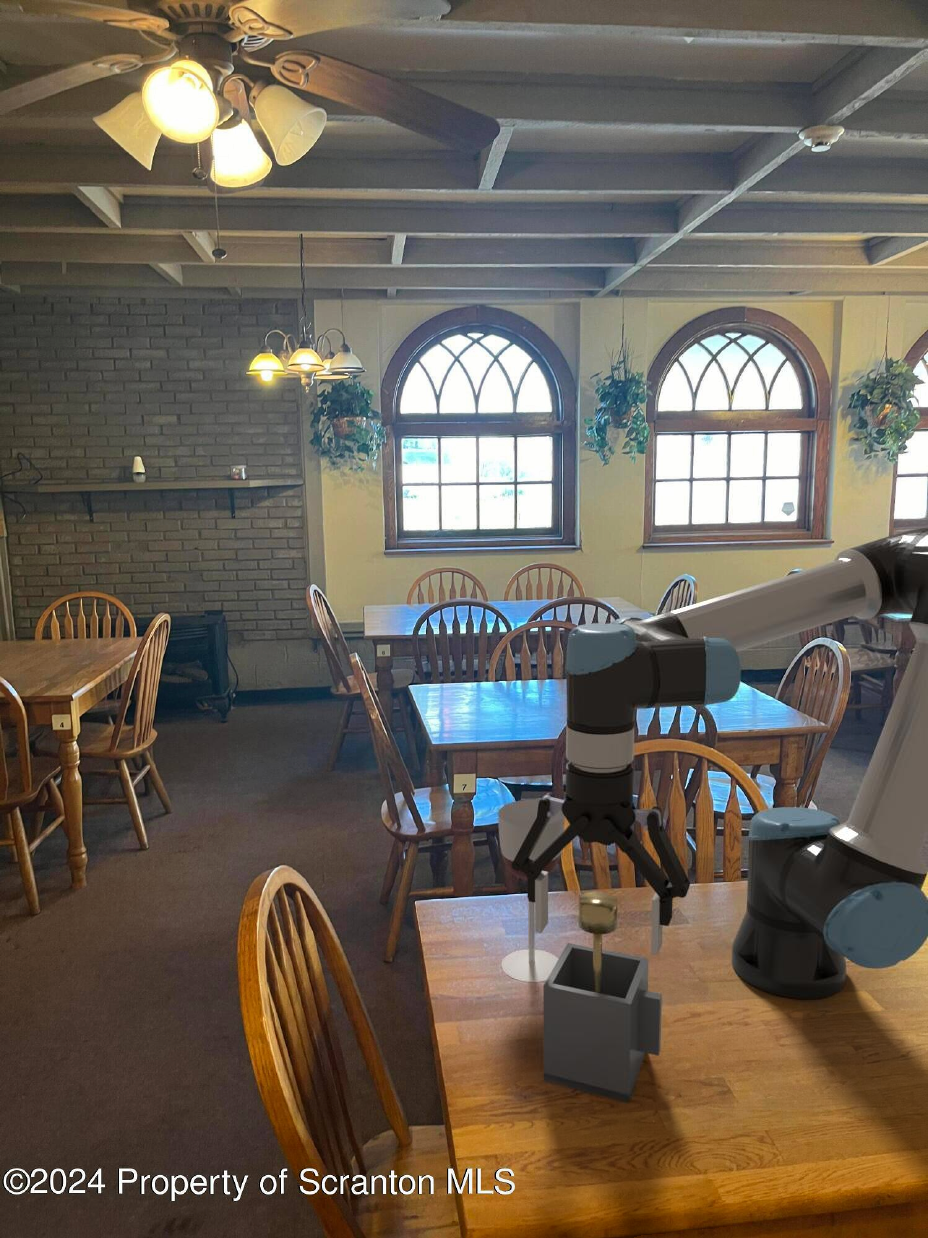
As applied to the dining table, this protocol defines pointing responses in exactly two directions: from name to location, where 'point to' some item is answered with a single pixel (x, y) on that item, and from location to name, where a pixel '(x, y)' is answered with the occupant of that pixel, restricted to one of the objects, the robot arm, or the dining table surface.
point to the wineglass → (512, 834)
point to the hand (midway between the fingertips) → (597, 938)
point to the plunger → (597, 926)
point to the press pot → (599, 1023)
